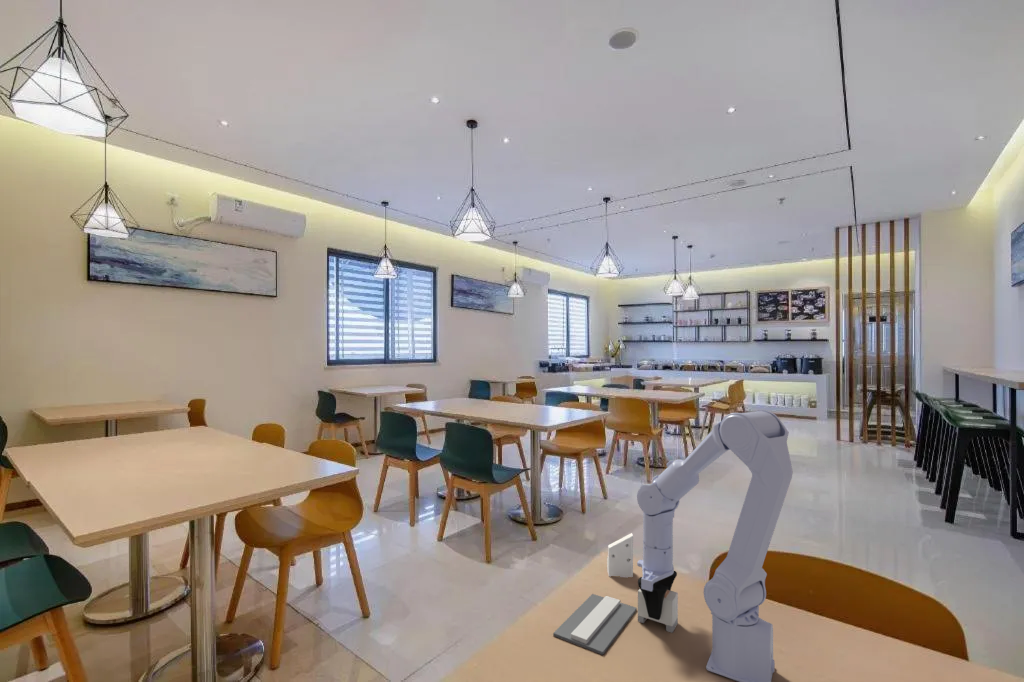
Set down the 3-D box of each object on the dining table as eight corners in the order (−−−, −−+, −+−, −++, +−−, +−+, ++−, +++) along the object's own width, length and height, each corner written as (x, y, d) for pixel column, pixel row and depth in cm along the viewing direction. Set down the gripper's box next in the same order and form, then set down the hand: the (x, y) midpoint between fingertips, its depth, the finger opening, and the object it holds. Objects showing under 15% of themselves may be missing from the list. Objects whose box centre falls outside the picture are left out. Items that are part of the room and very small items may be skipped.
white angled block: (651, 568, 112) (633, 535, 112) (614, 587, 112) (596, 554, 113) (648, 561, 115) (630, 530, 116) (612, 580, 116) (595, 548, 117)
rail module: (677, 623, 93) (677, 591, 93) (672, 632, 90) (672, 600, 90) (644, 612, 97) (644, 582, 97) (637, 621, 93) (637, 589, 94)
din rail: (636, 610, 98) (636, 603, 98) (602, 655, 83) (602, 647, 83) (592, 596, 103) (592, 590, 103) (553, 635, 88) (553, 628, 88)
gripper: (649, 528, 102) (649, 591, 101) (625, 551, 90) (625, 622, 89) (682, 535, 98) (682, 601, 98) (662, 560, 86) (662, 635, 85)
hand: (657, 612), depth 93 cm, fingers closed on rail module, 4 cm apart
